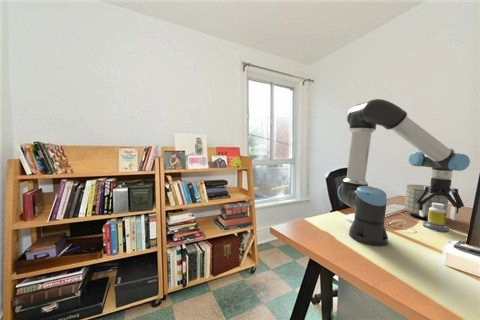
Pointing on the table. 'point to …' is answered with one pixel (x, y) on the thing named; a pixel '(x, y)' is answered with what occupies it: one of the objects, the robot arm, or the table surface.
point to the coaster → (440, 229)
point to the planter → (415, 190)
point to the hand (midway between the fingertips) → (436, 217)
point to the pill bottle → (437, 215)
